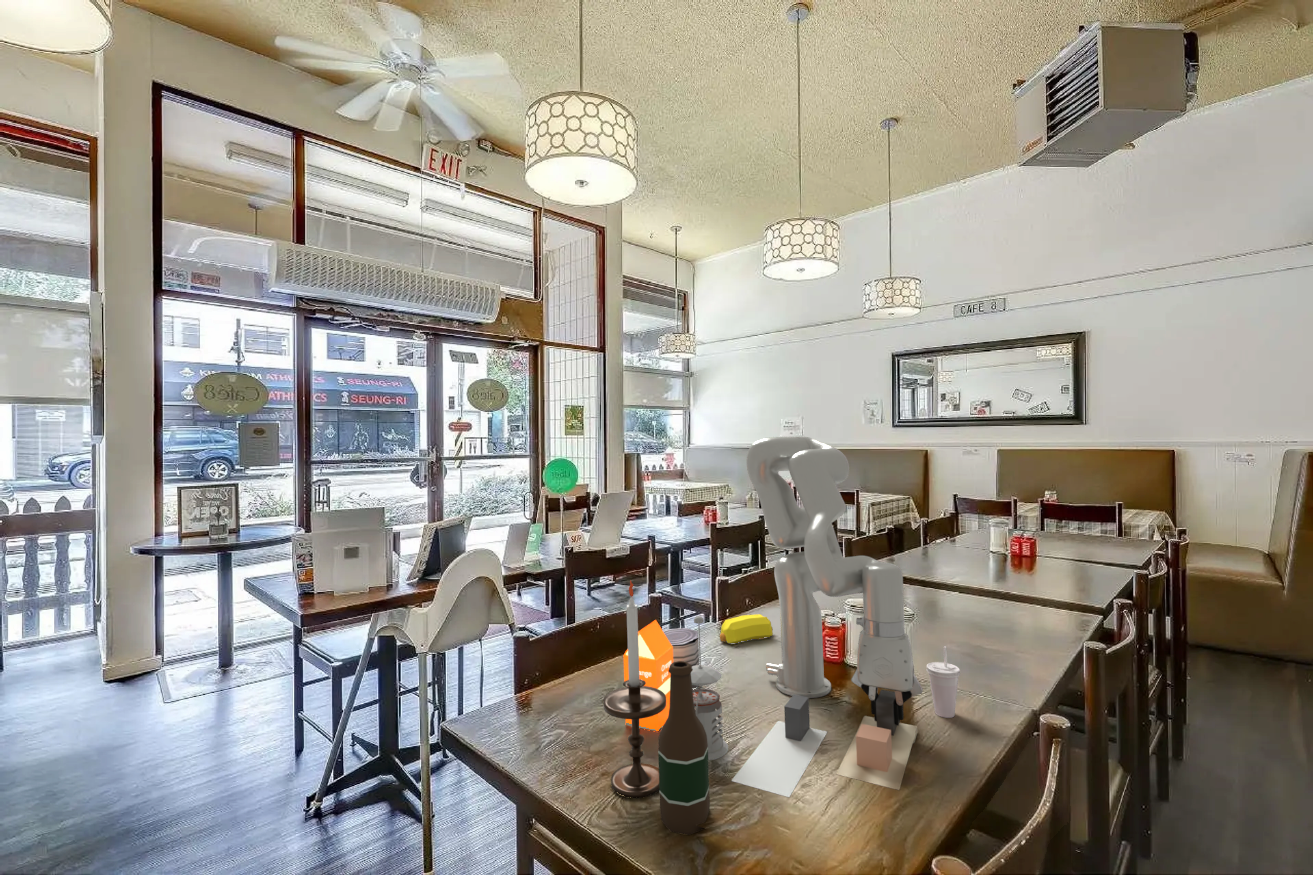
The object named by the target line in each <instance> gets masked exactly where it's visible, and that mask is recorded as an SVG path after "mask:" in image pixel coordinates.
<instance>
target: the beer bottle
mask: <svg viewBox="0 0 1313 875" xmlns="http://www.w3.org/2000/svg"><path fill="white" fill-rule="evenodd" d="M692 670H693V669H692V666H691V664H689V663H688V662H684V661H677V662H673V663H672V664H671V665H670V667H669V671H668V672H669V673H671V675H670V708H669V715H668V718H667V720H666V722H665V724H664V725H663V727H662V729H661V730H660V731H659V736H658V745H657V746H658V747H657V756H658V768H659V791H658V792H659V811H660V820H661V822H662V823H663V825H664V826H665V828H667V829H668V830H669V832H670V833H674V834H682V835H684V836H685V835H686V836H690V835H692V834H696V833H698V832H701V831H703V830H706V829H705V827H702V826H699V825H701V824H703V823H706V821H707V819H708V816H709V812H710V809H711V807H710V806H711V802H710V801H711V800H710V799H711V798H710V774H709V772H710V771H709V770H710V767H709V760H708V743H707V734H706V732H705V729H704V727H703V725H702V723H701V722H700V720H699V719H698V718H697V716H696V713H695V710H696V707H694V702H693V691H692V680H691V672H692Z"/></svg>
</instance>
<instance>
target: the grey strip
mask: <svg viewBox="0 0 1313 875" xmlns="http://www.w3.org/2000/svg"><path fill="white" fill-rule="evenodd" d="M809 699H810V698H809V697H805V696H799V695H793V696H790V698H789V700H788V701H787V703H786V704H785V705H784V710H783V711H784V721H780V720H777V722H776V723H775V724H774V725H773V727H772V728H771V729H770V730H769V732H768V733H767V735H766V736H765V737H764V738H763V740H762V741H761V742H760V744H759V745H758V746H757V747H756V748H755V750H754V751H753V752H752V754H751V755H750V756H749V757H748V759H747V760H746V761H745V763H744V764H743V765H742V766H741V767H740V768H739V770H738V771H737V773H736V774H735V776H734V777H733V778H732V779H731V782H734V783H737V784H740V785H744V786H747V787H751V788H755V789H758V790H760V791H764V792H768V793H772V794H775V795H779V796H782V797H786V798H790V797H791V796H792V794H793V792H794V790H795V788H796V787H797V785H798V783H799V782H800V780H801V778H802V777H803V775H804V773H805V772H806V770H807V768H808V766H809V765H810V763H811V760H812V759H813V758H814V756H815V754H816V753H817V751H818V749H819V748H820V746H821V744H822V742H823V741H824V738H825V737H826V735H827V734H828V731H826V730H821V729H819V728H818V729H817V728H812V727H810V726H811V725H810V723H811V722H810V700H809Z"/></svg>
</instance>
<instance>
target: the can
mask: <svg viewBox="0 0 1313 875" xmlns="http://www.w3.org/2000/svg"><path fill="white" fill-rule="evenodd" d="M662 631H663V632H664V634H665V635H666V637H667V639H668V640H669V642H670V644H671V645H672V646H673V662H677V661H684V662H688V663H689V664H691V666H696V665H700V657H699V630H695V629H691V628H688V627H681V628H680V627H678V628H670V629H665V630H662ZM696 687H697V685H692V688H696ZM697 688H698V687H697ZM697 688H696V689H697Z"/></svg>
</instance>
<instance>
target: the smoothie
mask: <svg viewBox="0 0 1313 875" xmlns="http://www.w3.org/2000/svg"><path fill="white" fill-rule="evenodd" d="M947 652H948V651H947V646H945V645H944V646H943V661H933V662H929V663H927V664H926V669H925V670H926V672H927V673H928V679H929V684H930V691H931V697H932V702H933V708H934V713H935V715H936V716H937V717H942V718H947V719H949V718H953V717H955V715H956V705H957V693H958V686H959V676H961V670H960V668H959V667H958V666H957V665H955V664H952V663H949V662H948V655H947V654H948V653H947Z"/></svg>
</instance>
